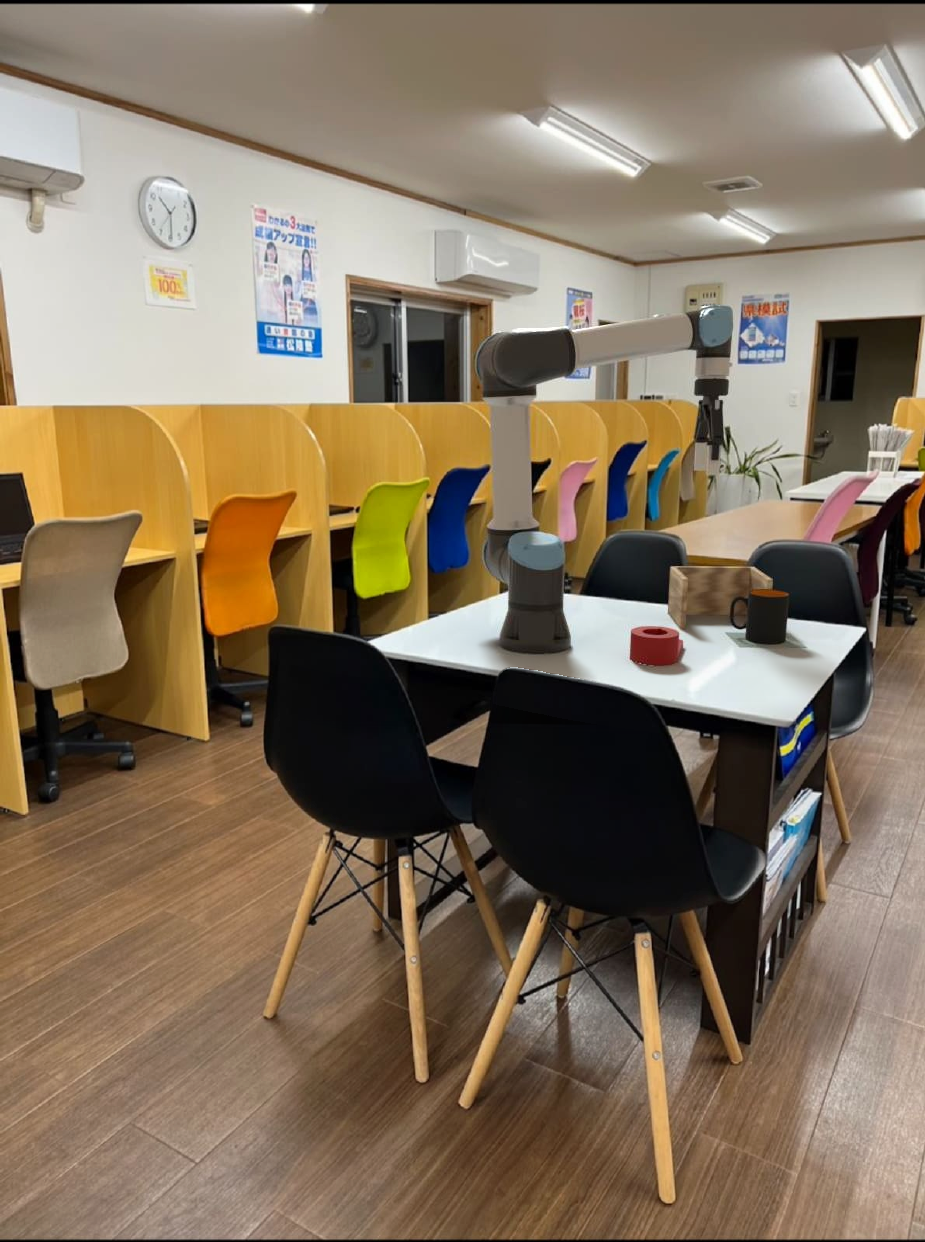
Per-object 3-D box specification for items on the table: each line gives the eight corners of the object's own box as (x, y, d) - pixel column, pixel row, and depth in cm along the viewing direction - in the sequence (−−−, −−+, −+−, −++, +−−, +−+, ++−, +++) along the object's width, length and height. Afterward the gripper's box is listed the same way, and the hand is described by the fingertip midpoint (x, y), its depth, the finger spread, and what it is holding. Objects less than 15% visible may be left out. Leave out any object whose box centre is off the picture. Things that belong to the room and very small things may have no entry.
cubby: (679, 630, 203) (682, 579, 200) (667, 614, 219) (670, 566, 216) (768, 631, 202) (773, 579, 199) (750, 614, 218) (753, 566, 215)
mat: (739, 649, 188) (739, 646, 188) (725, 635, 199) (725, 632, 199) (806, 650, 187) (807, 647, 187) (789, 635, 199) (789, 632, 199)
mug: (732, 631, 200) (735, 586, 198) (788, 637, 195) (792, 591, 192) (724, 639, 193) (727, 592, 191) (781, 646, 188) (785, 598, 185)
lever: (667, 673, 172) (669, 640, 170) (621, 666, 177) (623, 633, 175) (698, 652, 187) (700, 621, 185) (655, 645, 192) (657, 615, 190)
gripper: (742, 376, 189) (735, 477, 194) (716, 379, 213) (710, 468, 219) (707, 376, 190) (701, 477, 195) (684, 379, 214) (679, 468, 219)
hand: (706, 472), depth 207 cm, fingers open, 13 cm apart
